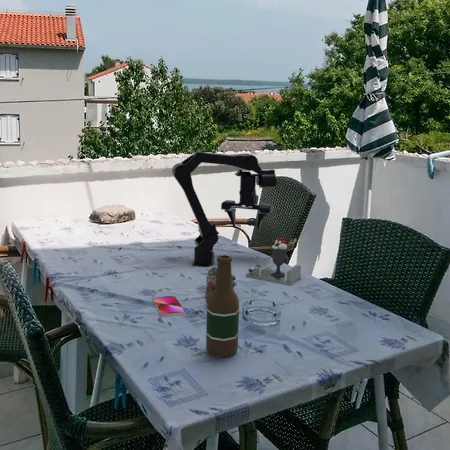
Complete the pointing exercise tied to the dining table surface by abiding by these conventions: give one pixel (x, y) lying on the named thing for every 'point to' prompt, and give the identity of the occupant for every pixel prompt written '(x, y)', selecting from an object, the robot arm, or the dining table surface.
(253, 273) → the vise
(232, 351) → the beer bottle
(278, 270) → the sundae
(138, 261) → the dining table surface
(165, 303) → the smartphone
